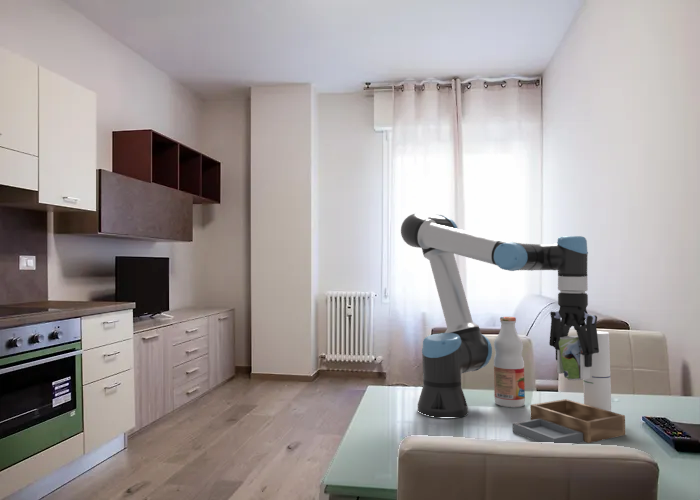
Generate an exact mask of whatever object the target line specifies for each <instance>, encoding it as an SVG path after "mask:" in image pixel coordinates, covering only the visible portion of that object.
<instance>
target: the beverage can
mask: <svg viewBox="0 0 700 500" xmlns="http://www.w3.org/2000/svg"><path fill="white" fill-rule="evenodd" d="M559 348H560V354H561V360H562V366H563V372H564V373H563V375H564V378H565V379H567V380H569V381H583V379H581V375H580V354H581V353H583V351H582V348H581V345H580V341H579V338H578V335H568V336H564V337H560V341H559Z"/></svg>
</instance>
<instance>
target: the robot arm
mask: <svg viewBox="0 0 700 500" xmlns="http://www.w3.org/2000/svg"><path fill="white" fill-rule="evenodd" d="M400 234H401V235H400V236H401V238H402V240H403V241H404V242H405V243H406V244H407V245H408V246H410V247H413V248H419V249H421V250H422V254H423V258H425V259H427V260H429V264H430V267H431V271H432V275H433V279H434V283H435V286H436V290H437V294H438V298H439V303H440V305H441V309H442V313H443V317H444V321H445V325H446V330H445V331H444V332H441V333H433V334H430V335H428V336H426V337H425V338H424V339H423V340H422V350H421V353H422V388H421V392H420V395H419V399H418V401H417V412H418V411H419V412H421V413H423V414H426V415H429V416H434V417H460V418H462V417H461V416H463V417H465V415H466V416H467V415H468V414H467V413H469V411H468V409H469V407H468V403H467V400H466V397H465V394H464V390H463V388H462V374H464V373H465V374H466V373H470V372H475V371H479V370H481V369H483V368H484V367H486V366H487V365H488V364H489V362H490V360H491V359H492V356H493V355H492V354H493V347H492V344H491V341H490V339H489V338H488V337H487V336H485V335H484V334H482V332H481V329H480V326H479V324H476V323H475V322H474V321H473V319H472V315H471V311H470V307H469V304H468V299H467V296H466V293H465V288H464V286H463V282H462V278H461V275H460V271H459V268H458V265H457V264H458V263H457V261H456V257H455V255H457V256H460V257H461V256H462V257H464V258H465V257H466V258H468V259H473V260H476V261H480V262H483V263H487V264H491V265H494V266H497V267H499V268H500V269H502V270H505V271H509V272H514V271H557V290H558V291H559V292H558V293H557V304H558V306H559V309H558V310H557V311H551V312H550V313H549V314H550V319H551V323H550V332H549V334H550V335H549V342H548V343H549V346H550V347H553V349H555V360H556V363H557V364H556V365H557V366H556V367H557V368H556V369H557V370H556V372H557V374H564V372H563V366H562V360H561V354H560V348H559V341H560V337H564V336H569V332H570V330H571V328H572V327H573V329H574V331H576V334H577V335H576V336H578V338H579V341H580V345H581V348H582V351H583V353H581V354H580V375H581V379H590V367H591V366H592V354H594V353H598V352H599V346H598V337H597V331H598V329H597V322H598V316H597V315H591V314H590V313H589V312H588V311H587V307H588V305H589V296H588V295H589V294H587V293H586V292H588V287H589V286H588V254H589V252H588V241H587V238H586V237H584V236H582V235H581V236H580V235H579V236H578V235H567V236H565V235H564V236H559V237H557V242H556V243H552V244H548V243H547V244H545V243H544V244H543V243H541V244H537V243H522V242H521V243H520V242H514V241H510V240H506V239H502V238H498V237H493V236H489V235H485V234H480V233H475V232H473V231H472V232H471V231H466V230H463V229H459V228H458V226H457V224H456V222H455V221H454V220H453V218H450V217H448V216H445V215H442V214H428V213H421V212H417V213H416V212H415V213H412V214H410V215H408V216H407V217H406V218H404V220H403V222H402V223H401V227H400ZM419 412H418V413H419Z"/></svg>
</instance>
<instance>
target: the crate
mask: <svg viewBox="0 0 700 500" xmlns="http://www.w3.org/2000/svg"><path fill="white" fill-rule="evenodd" d="M539 418H541V419H544V420H547V421H550V422H553V423H556V424H558V425H561V426H564V427H567V428H570V429H573V430H576V431H579V432H582V433H583V443H587V444H591V443H594V442H599V441H604V440H608V439H612V438H617V437H621V436H622V437H623V436H626V416H625V415H624V414H620V413H617V412H614V411H611V412H610V411H607V410H603V409H600V408H596V407H592V406H589V405H585V404H584V403H580V402H579V401H578V402H577V401H574V400H570V399H567V398H566V399H558V400H553V401H545V402H539V403H533V404H530V420H533V419H539Z"/></svg>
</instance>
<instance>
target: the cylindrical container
mask: <svg viewBox="0 0 700 500" xmlns="http://www.w3.org/2000/svg"><path fill="white" fill-rule="evenodd" d="M597 337H598V346H599V352H598V353H594V354H592V366H591V367H590V379H583V380H582V382H583V385H582V386H583V404H585V405H589V406H592V407H596V408H600V409H603V410H607V411H610V412H612V387H611V385H612V383H611V382H612V381H611V380H612V379H611V355H610V354H611V352H610V351H611V347H610V344H611V343H610V332H608V331H604V330H603V331H602V330H601V331H600V330H597Z"/></svg>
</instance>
